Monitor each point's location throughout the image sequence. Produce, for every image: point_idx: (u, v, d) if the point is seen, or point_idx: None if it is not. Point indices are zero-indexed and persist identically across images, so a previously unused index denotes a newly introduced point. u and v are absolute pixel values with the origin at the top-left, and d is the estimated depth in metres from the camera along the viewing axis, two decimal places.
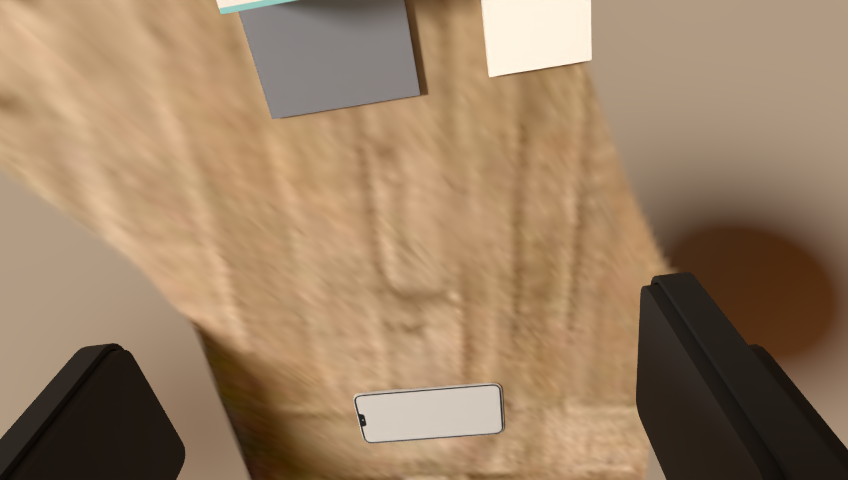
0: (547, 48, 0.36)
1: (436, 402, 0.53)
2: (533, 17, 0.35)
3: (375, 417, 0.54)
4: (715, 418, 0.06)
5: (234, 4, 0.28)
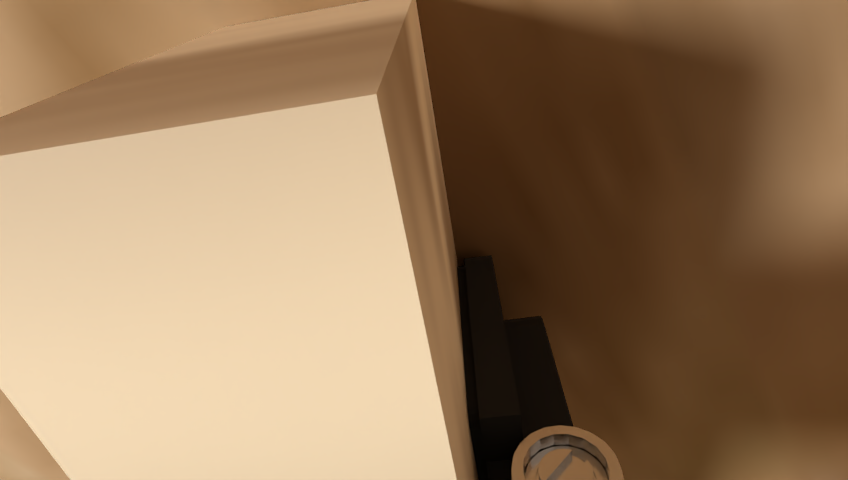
0: None
1: None
2: None
3: None
4: None
5: None
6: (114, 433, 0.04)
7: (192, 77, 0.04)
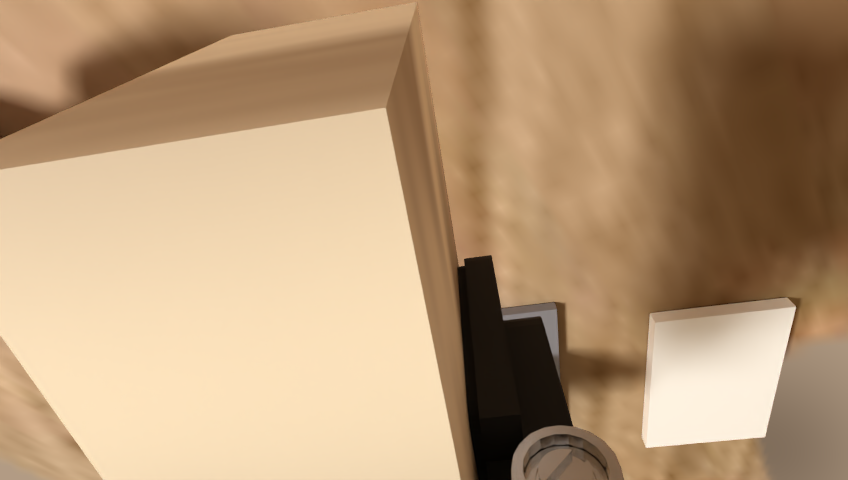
0: (717, 427, 0.32)
1: None
2: (706, 404, 0.31)
3: None
4: None
5: None
6: (136, 421, 0.04)
7: (209, 87, 0.04)
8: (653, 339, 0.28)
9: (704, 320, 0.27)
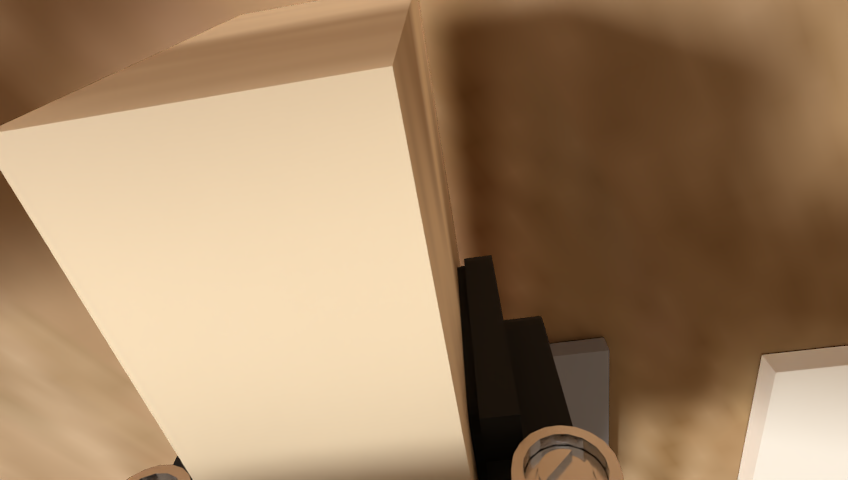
0: None
1: None
2: None
3: None
4: None
5: None
6: (175, 347, 0.05)
7: (234, 57, 0.05)
8: (768, 399, 0.17)
9: None
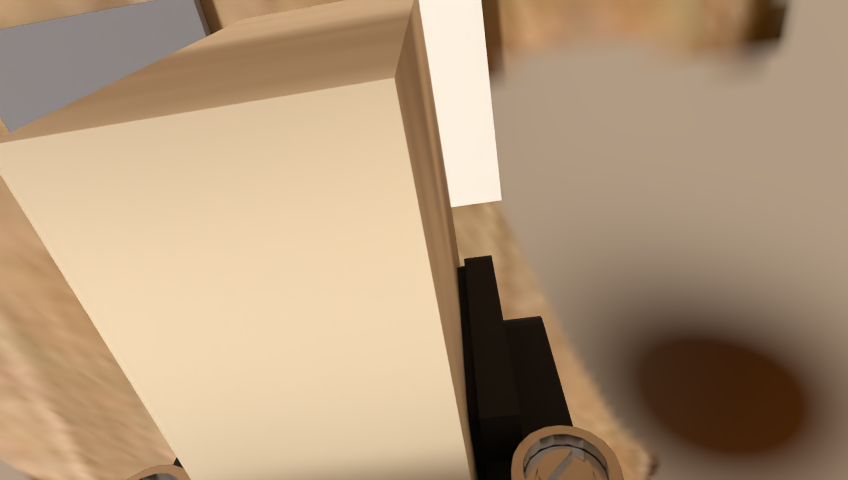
0: None
1: None
2: None
3: None
4: None
5: None
6: (178, 355, 0.05)
7: (236, 65, 0.05)
8: None
9: None
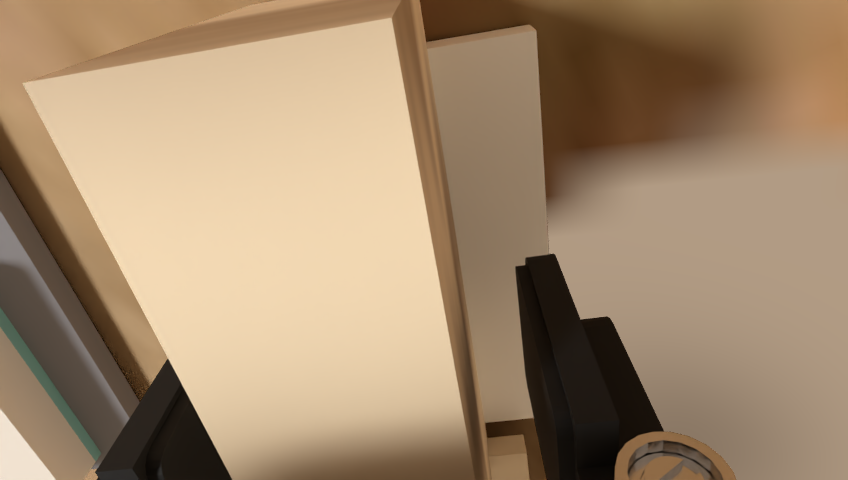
0: None
1: None
2: None
3: None
4: (540, 374, 0.07)
5: None
6: (191, 290, 0.05)
7: (247, 26, 0.05)
8: None
9: None
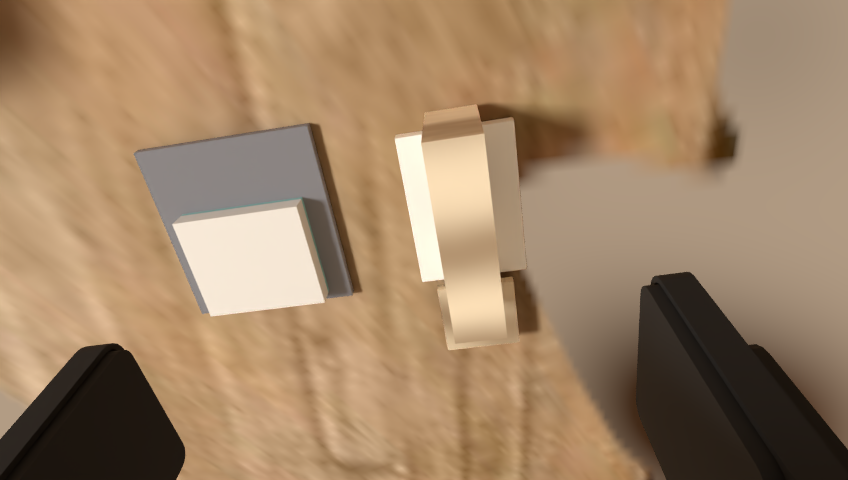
0: None
1: None
2: None
3: None
4: (715, 418, 0.06)
5: None
6: (439, 182, 0.26)
7: (449, 129, 0.26)
8: None
9: None
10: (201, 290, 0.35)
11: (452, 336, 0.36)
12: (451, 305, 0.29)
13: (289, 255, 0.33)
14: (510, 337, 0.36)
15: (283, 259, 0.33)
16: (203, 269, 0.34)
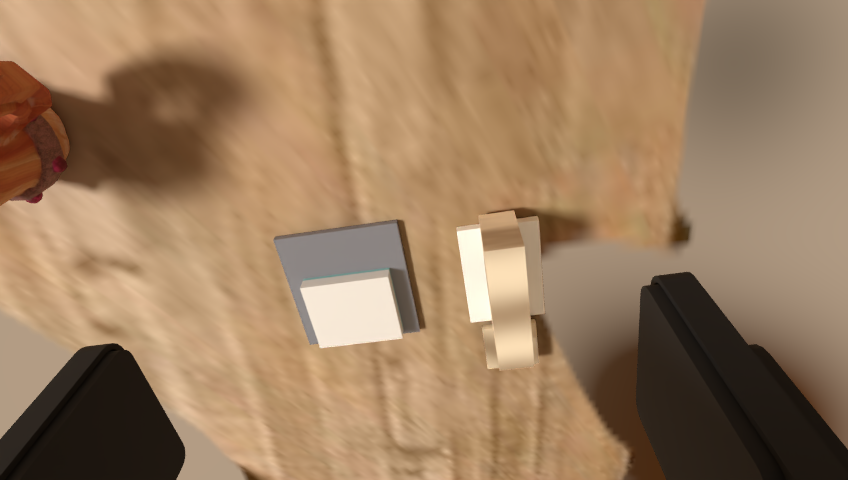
0: None
1: None
2: None
3: None
4: (715, 418, 0.06)
5: None
6: (494, 274, 0.40)
7: (500, 239, 0.40)
8: None
9: None
10: (315, 331, 0.49)
11: (491, 360, 0.51)
12: (497, 346, 0.44)
13: (380, 308, 0.48)
14: None
15: (375, 310, 0.48)
16: (318, 317, 0.48)
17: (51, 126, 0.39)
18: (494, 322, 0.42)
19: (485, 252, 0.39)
